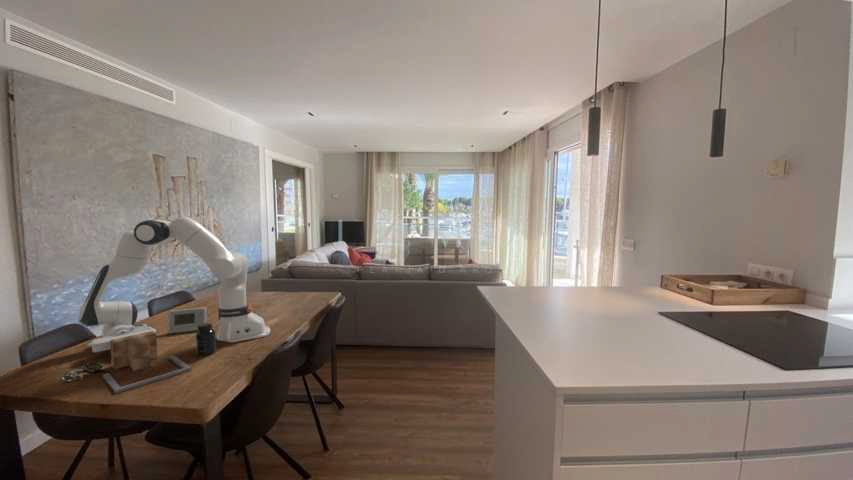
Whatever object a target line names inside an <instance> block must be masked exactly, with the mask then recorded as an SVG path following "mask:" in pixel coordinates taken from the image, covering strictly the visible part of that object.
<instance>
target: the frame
mask: <svg viewBox="0 0 853 480" xmlns="http://www.w3.org/2000/svg"><path fill="white" fill-rule="evenodd" d="M168 357H169V360H170V361H172V362H173V363H174V364H176V365H177V366H178V367H180V369H179V368H178V369H177V370H173V371H170V372H167V373H166V372H165V373H162V374H160V375H156V376H152V377H150V378H146V379H143V380H140V381H137V382H133V383H130V384H127V385H123V386H120V385H119V383H118V382H117V381H116V380H115V379H114V377H112V375H111V374H110V373H109V372H107V373H103V374H102V378H103V379H104V380H105V381H106V383H107V384H108V385H109V387H110V388H111V389H112V391H113V392H114V394H119V393H123V392H125V391H128V390H131V389H135V388H138V387H141V386H146V385H147V384H151V383H154V382H157V381H161V380H163V379H167V378H171V377H173V376H176V375H177V376H178V375H180V374H183V373H186V372H190V371H192V366H190V365H188V364H187V363H186V362H184V361H183V360H181V359H180V358H179V357H177V356H175V355H174V354H172V355H169V356H168Z"/></svg>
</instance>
